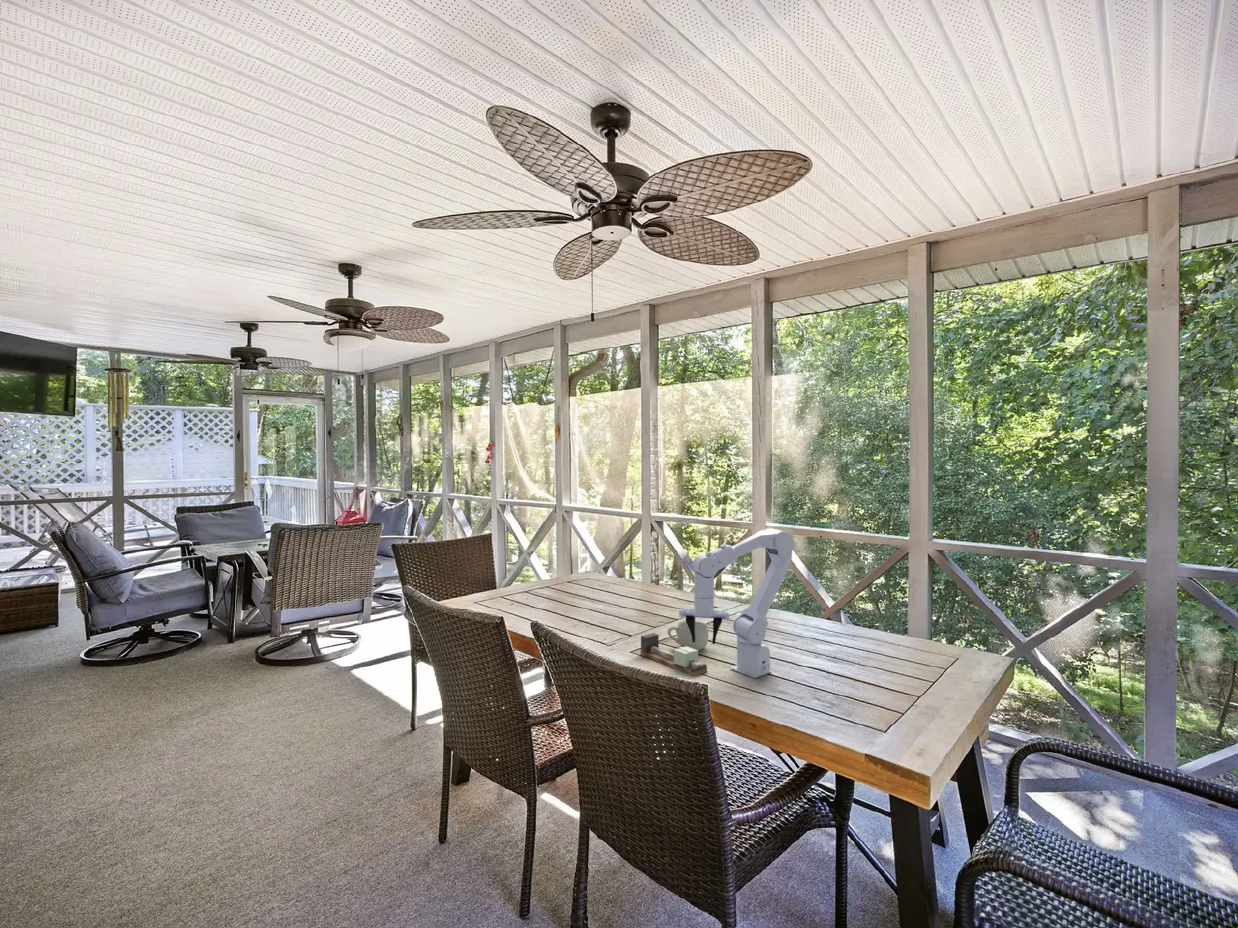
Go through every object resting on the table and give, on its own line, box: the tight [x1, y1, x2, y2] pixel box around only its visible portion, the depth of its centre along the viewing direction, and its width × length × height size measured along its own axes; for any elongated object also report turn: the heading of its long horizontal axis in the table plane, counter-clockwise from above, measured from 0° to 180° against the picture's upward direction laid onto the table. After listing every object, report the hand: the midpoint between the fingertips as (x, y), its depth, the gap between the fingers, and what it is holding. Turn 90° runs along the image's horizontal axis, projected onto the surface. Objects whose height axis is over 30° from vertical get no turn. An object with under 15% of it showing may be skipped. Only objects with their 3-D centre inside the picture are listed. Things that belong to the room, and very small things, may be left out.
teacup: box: [667, 620, 710, 652], centre depth 196 cm, size 14×11×8 cm
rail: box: [639, 632, 708, 677], centre depth 182 cm, size 24×6×6 cm, turn 38°
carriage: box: [673, 646, 699, 668], centre depth 178 cm, size 5×5×4 cm
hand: (703, 642), depth 172 cm, fingers open, 5 cm apart
